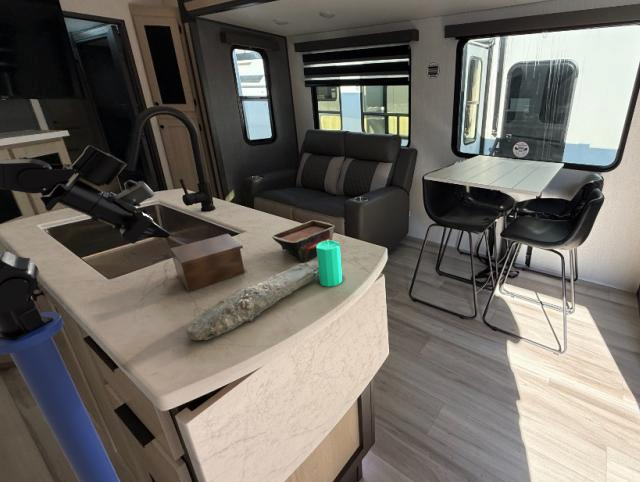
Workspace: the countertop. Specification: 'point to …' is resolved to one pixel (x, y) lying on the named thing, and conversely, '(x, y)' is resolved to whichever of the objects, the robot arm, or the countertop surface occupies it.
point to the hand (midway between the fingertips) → (169, 235)
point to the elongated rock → (250, 302)
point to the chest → (209, 269)
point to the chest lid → (205, 249)
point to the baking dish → (304, 239)
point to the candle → (329, 263)
